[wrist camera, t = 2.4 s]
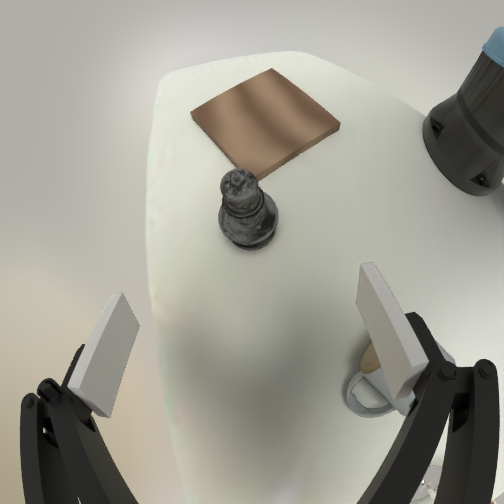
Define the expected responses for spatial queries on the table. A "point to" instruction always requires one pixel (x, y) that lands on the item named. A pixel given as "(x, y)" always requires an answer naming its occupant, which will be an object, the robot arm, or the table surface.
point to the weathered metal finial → (246, 211)
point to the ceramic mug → (379, 386)
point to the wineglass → (430, 484)
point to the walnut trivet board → (264, 122)
